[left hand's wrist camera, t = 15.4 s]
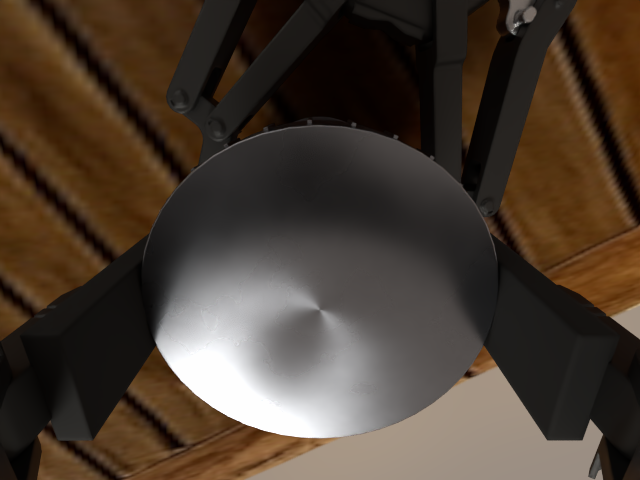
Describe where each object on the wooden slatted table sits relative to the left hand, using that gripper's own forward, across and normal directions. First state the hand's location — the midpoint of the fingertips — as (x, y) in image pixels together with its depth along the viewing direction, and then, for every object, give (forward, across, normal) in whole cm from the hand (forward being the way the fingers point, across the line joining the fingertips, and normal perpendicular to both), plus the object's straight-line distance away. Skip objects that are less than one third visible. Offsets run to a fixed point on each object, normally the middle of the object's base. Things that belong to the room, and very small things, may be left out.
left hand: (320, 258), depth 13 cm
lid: (-3, 0, 0) cm, 3 cm away
